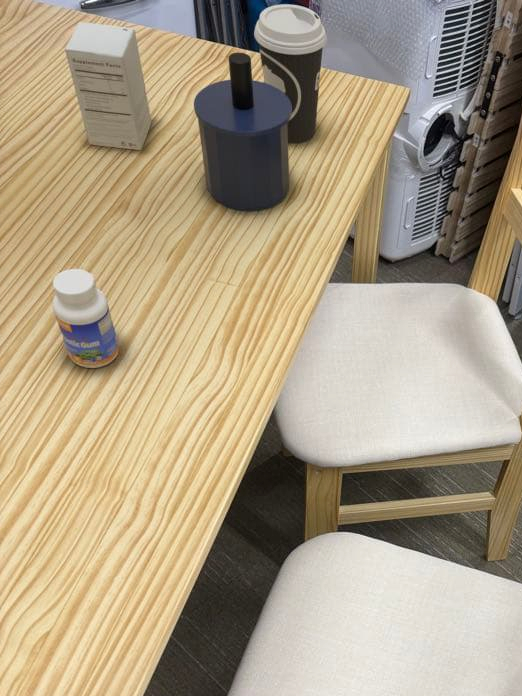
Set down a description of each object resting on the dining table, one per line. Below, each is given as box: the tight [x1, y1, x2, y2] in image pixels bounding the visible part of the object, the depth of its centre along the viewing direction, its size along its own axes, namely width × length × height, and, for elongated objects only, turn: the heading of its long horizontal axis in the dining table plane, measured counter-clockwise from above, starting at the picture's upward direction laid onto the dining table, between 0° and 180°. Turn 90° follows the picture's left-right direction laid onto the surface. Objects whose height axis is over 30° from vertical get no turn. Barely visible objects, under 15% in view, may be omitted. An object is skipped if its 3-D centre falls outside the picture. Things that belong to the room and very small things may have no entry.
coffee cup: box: [253, 3, 328, 144], centre depth 108 cm, size 10×10×15 cm
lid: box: [193, 52, 292, 136], centre depth 95 cm, size 12×12×7 cm
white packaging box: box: [64, 21, 153, 151], centre depth 104 cm, size 7×7×13 cm
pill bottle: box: [52, 268, 120, 369], centre depth 83 cm, size 5×5×10 cm
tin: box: [197, 118, 290, 212], centre depth 101 cm, size 11×11×10 cm
